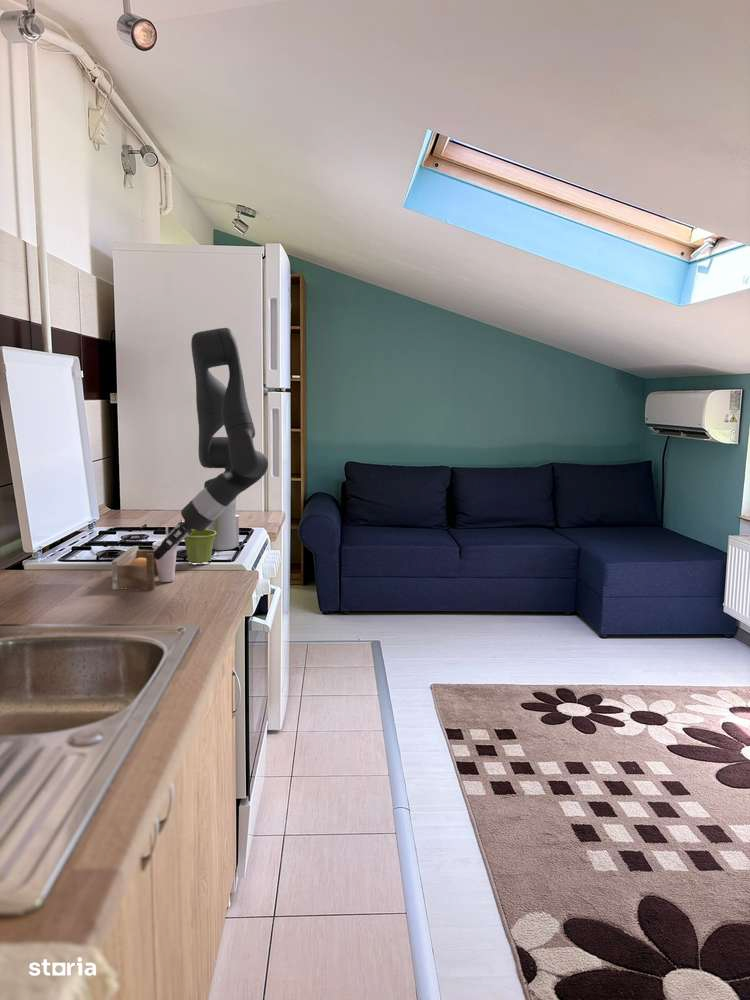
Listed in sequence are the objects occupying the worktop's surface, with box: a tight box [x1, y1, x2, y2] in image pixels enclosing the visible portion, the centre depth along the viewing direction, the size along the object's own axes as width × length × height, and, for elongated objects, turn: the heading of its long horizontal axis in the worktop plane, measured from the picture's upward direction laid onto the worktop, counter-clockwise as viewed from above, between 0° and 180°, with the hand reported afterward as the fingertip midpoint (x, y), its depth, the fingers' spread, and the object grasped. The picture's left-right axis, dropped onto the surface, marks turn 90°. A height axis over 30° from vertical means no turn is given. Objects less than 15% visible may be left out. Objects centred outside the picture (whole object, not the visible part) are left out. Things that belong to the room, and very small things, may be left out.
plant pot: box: [183, 528, 216, 563], centre depth 225 cm, size 9×9×9 cm
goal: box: [111, 545, 158, 591], centre depth 206 cm, size 10×17×9 cm, turn 179°
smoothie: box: [151, 525, 179, 583], centre depth 205 cm, size 6×6×14 cm
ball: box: [130, 558, 147, 565], centre depth 206 cm, size 6×6×6 cm
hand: (159, 553), depth 205 cm, fingers closed on smoothie, 6 cm apart
